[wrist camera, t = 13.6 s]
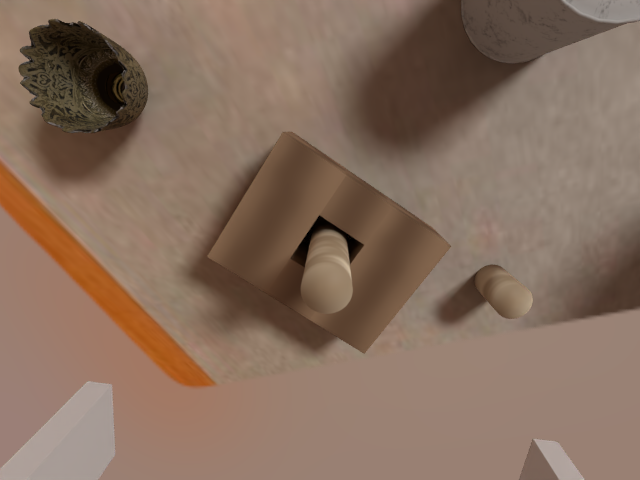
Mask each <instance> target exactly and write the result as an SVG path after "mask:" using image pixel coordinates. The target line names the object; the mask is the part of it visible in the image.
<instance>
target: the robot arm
mask: <svg viewBox="0 0 640 480" xmlns="http://www.w3.org/2000/svg"><path fill="white" fill-rule="evenodd" d="M114 456H115V439H114V419H113V397H112V385H111V384H104V383H97V382H89V381H88V382H87V383H85V384H84V385H83V386H82V388H81V389H79V390H78V391H77V392H76V394H75V395H73V396H72V398H70V399H69V400H68V401H67V402H66V403H65V404H64V406H63V407H61V408H60V409H59V410H58V411H57V412H56V413H55V414H54V415H53V416H52V417H51V419H49V421H47V422H46V423H45V425H43V426H42V428H40V429H39V430H38V431H37V433H35V434H34V435H33V437H31V438H30V440H28V441H27V442H26V443H25V444H24V445H23V446H22V447H21V448H20V449H19V451H17V452H16V453H15V454H14V455H13V456H12V457H11V458H10V459H9V460H8V461H7V462H6V463H5V464H4V465H3V466H2V467H1V468H0V480H98V479H99V478H100V476H101V475H102V473H103V472H104V470H105V469H106V467H107V466H108V464H109V463H110V462H111V460H112V459H113V457H114ZM519 480H585V479H584V478H583V476H582V475H581V474H580V472H579V471H578V469H577V468H576V467H575V465H574V464H573V462H572V461H571V459H570V458H569V457H568V455H567V454H566V452H565V451H564V450H563V448H562V447H561V446H560V444H559V442H556V441H548V440H541V439H533V440H532V443H531V446H530V449H529V452H528V455H527V458H526V461H525V464H524V467H523V470H522V473H521V476H520V479H519Z"/></svg>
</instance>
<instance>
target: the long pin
mask: <svg viewBox="0 0 640 480" xmlns="http://www.w3.org/2000/svg"><path fill="white" fill-rule="evenodd" d="M352 293H353V287H352V279H351V270H350V262H349V254H348V246H347V237H346V232H344V231H343V230H341V229H340V228H338V227H337V226H335V225H333V224H332V223H330V222H329V221H327V220H326V219H324V218H323V217H321V218H320V219H318V220H317V221H316V223H315V224H314V227H313V231H312V236H311V240H310V245H309V250H308V255H307V259H306V264H305V269H304V274H303V278H302V283H301V296H302V298H303V301H304V302H305V304H306V305H307V306H308V307H309V308H311V309H312V310H314V311H316V312H318V313H323V314H331V313H335V312H338V311H340V310H342V309H343V308H344V307H346V306H347V304H348V303H349V302H350V300H351V297H352Z"/></svg>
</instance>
